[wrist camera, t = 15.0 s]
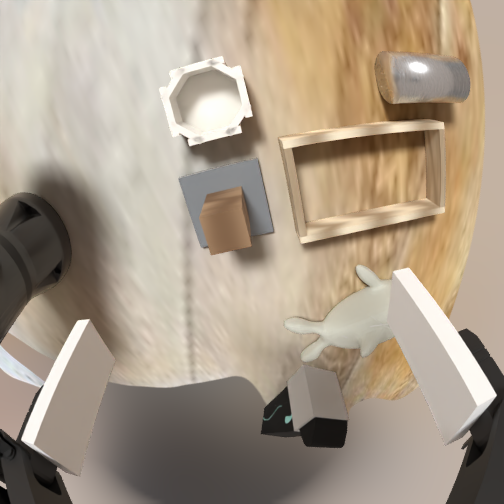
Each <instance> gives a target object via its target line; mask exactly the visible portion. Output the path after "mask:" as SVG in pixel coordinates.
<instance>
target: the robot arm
mask: <svg viewBox="0 0 504 504" xmlns="http://www.w3.org/2000/svg"><path fill="white" fill-rule="evenodd" d="M70 261H71V246H70V241H69V237H68V234H67V231H66V229H65V226H64V224H63V222H62V221H61V219H60V217H59V216H58V214H57V213H56V212H55V210H54V209H53V208H52V207H51V206H50V205H49V204H48V203H47V202H46V201H44V200H43V199H42V198H40V197H38V196H36V195H34V194H31V193H17V194H15V195H13V196H11V197H10V198H8V199H6V200H5V201H4V202H2V203H1V204H0V343H1V342H2V340H3V339H4V337H5V335H6V334H7V332H8V331H9V329H10V328H11V326H12V325H13V323H14V322H15V320H16V319H17V317H18V316H19V315H20V313H21V312H22V310H23V309H24V307H25V306H26V305H27V303H28V302H29V301H30V300H31V299H32V298H34V297H36V296H38V295H39V294H41V293H43V292H45V291H47V290H49V289H51V288H52V287H54V286H55V285H56V284H58V283H59V281H60V280H61V279H62V278H63V276H64V275H65V274H66V272H67V271H68V268H69V266H70ZM387 323H388V325H389V327H390V329H391V330H392V332H393V334H394V336H395V338H396V340H397V342H398V344H399V346H400V348H401V350H402V352H403V354H404V356H405V358H406V360H407V362H408V364H409V366H410V368H411V370H412V372H413V374H414V376H415V378H416V380H417V382H418V384H419V387H420V389H421V391H422V393H423V395H424V397H425V400H426V402H427V404H428V406H429V409H430V411H431V413H432V415H433V418H434V420H435V423H436V425H437V427H438V430H439V432H440V434H441V437H442V440H443V442H444V445H445V446H446V445H448V444H449V443H452V442H454V441H456V440H458V439H460V438H462V437H463V436H464V435H465V434H466V433H467V432H468V430H470V432H471V434H472V436H471V437H470V438H469V439H468V440H467V441H466V442H465V443H464V444H463V446H462V448H461V449H464V448H465V447H467V446H468V447H467V450H466V453H465V456H464V459H463V462H462V465H461V468H460V471H459V473H458V476H457V479H456V481H455V483H454V486H453V488H452V491H451V493H450V495H449V498H448V500H447V502H446V504H504V375H503V374H502V373H501V371H500V369H499V368H498V366H497V364H496V363H495V361H494V360H493V358H492V357H490V354H489V352H488V351H487V349H485V348H484V345H483V344H482V342H481V341H480V339H479V338H478V337H477V336H476V335H475V334H474V333H472V332H471V331H469V330H468V329H464V330H461V331H459V332H457V331H456V329H455V328H454V327H453V325H452V324H451V322H450V321H449V320H448V318H447V317H446V315H445V314H444V313H443V311H442V310H441V309H440V307H439V306H438V304H437V303H436V302H435V300H434V299H433V298H432V297H431V295H430V294H429V293H428V291H427V290H426V289H425V287H424V286H423V285H422V284H421V282H420V281H419V280H418V279H417V277H416V276H415V275H414V274H413V272H412V271H411V270H410V269H409V268H405V269H401V270H396V271H393V274H392V284H391V292H390V300H389V308H388V315H387ZM115 361H116V359H115V358H114V356H113V355H112V353H111V352H110V350H109V349H108V347H107V346H106V344H105V343H104V341H103V340H102V338H101V337H100V335H99V334H98V332H97V330H96V329H95V327H94V325H93V324H92V322H91V320H90V319H87V320H78V321H77V322H76V324H75V326H74V328H73V330H72V331H71V333H70V335H69V337H68V339H67V340H66V342H65V344H64V346H63V348H62V350H61V352H60V354H59V356H58V358H57V359H56V361H55V364H54V365H53V367H52V369H51V371H50V374H49V376H48V378H47V380H46V382H45V384H44V385H43V386H42V387H41V388H40V389H39V391H38V392H37V393H36V395H35V397H34V399H33V402H32V405H31V406H30V409H29V412H28V413H27V415H26V418H25V420H24V422H23V425H22V428H21V430H20V433H19V435H18V438H17V440H16V441H15V440H14V439H12V438H11V437H10V436H9V435H8V434H6V433H5V432H4V431H3V430H2V429H0V481H2V482H3V483H5V484H6V487H7V489H4V488H3V487H1V486H0V504H72V501H71V499H70V497H69V495H68V492H67V490H66V487H65V485H64V482H63V480H62V477H61V475H60V474H59V472H57V471H56V470H57V467H59V468H60V469H62V470H63V471H65V472H66V473H69V474H73V475H76V476H80V475H81V470H82V466H83V462H84V459H85V455H86V451H87V448H88V444H89V440H90V437H91V433H92V430H93V427H94V423H95V420H96V417H97V414H98V410H99V407H100V404H101V401H102V398H103V395H104V392H105V389H106V386H107V383H108V380H109V377H110V375H111V372H112V369H113V366H114V363H115Z"/></svg>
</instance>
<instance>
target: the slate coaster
mask: <svg viewBox="0 0 504 504" xmlns="http://www.w3.org/2000/svg"><path fill="white" fill-rule="evenodd" d="M179 182H180V185H181V188H182V191H183V194H184V198H185V201H186V204H187V207H188V210H189V213H190V216H191V219H192V222H193V225H194V228H195V231H196V234H197V237H198V240H199V243H200V246H201V248H202V247H206V246H208V244H207V241H206V238H205V235H204V232H203V229H202V226H201V223H200V220H199V216H200V213H201V210H202V207H203V204H204V201H205V198H206V195H207V194H210V193H214V192H218V191H222V190H227V189H231V188H235V187H239V186H242V190H243V194H244V198H245V202H246V206H247V210H248V214H249V219H250V232H251V236H255V235H260V234H265V233H269V232H274V231H273V226H272V222H271V217H270V213H269V208H268V203H267V199H266V194H265V190H264V185H263V181H262V176H261V172H260V168H259V163H258V159H257V158H254V159H249V160H245V161H240V162H236V163H232V164H228V165H224V166H220V167H216V168H212V169H208V170H204V171H200V172H197V173H193V174H189V175H186V176H182V177H179Z"/></svg>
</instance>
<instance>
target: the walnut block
mask: <svg viewBox="0 0 504 504" xmlns="http://www.w3.org/2000/svg"><path fill="white" fill-rule="evenodd" d="M199 220H200V223H201V226H202V229H203V232H204V235H205V238H206V241H207V244H208V247H209V250H210V253H211V255H215V254H219V253H224V252H228V251H233V250H238V249H242V248H247V247H251V246H252V245H251V232H250V219H249V214H248V210H247V206H246V202H245V198H244V194H243V190H242V186H239V187H235V188H231V189H227V190H222V191H218V192H214V193H210V194H207V195H206V198H205V201H204V204H203V207H202V210H201V213H200V216H199Z"/></svg>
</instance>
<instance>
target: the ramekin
mask: <svg viewBox="0 0 504 504" xmlns="http://www.w3.org/2000/svg"><path fill="white" fill-rule="evenodd" d="M169 73H170V77H171V78H172V80H171V82H170V83H169V85H168V86H164V87H162V88H159V90H160V94H161V99H162V101H163V105H164V109H165V112H166V116H167V120H168V123H169V128H170V130H171V134H172V137H175V136H178V135H181V134H182V135H184V136H186V137H188V138H189V139H188V143H189V146H192V145H196V144H201V143H203V142H207V141H210V140H214V139H218V138H222V137H226V136H232V135H234V134H238V133H242V128H241V124H240V122H241V120H242V119H243V117H244V116H245V118H247V117H252V116H253V115H252V111H251V105H250V102H249V98H248V94H247V90H246V86H245V82H244V75H243V74H242V70H241V66H236V67H233V69H231V68H230V67H228V66H226V64H225V61H224V58H223V56H221V57H217V58H213V59H212V58H211V59H209V60H206V61H202V62H198V63H195V64H191V65H188V66H185V67H179V68H178V69H175V70H172V71H169Z"/></svg>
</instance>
